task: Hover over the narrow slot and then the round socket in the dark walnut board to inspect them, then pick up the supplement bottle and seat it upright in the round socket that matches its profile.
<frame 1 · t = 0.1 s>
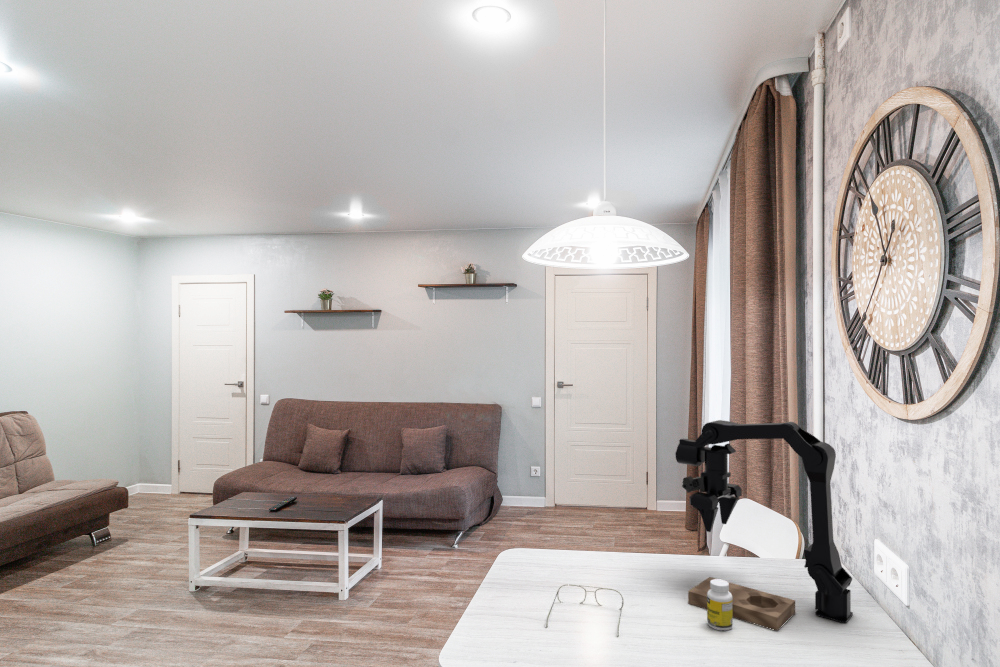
hand: (716, 527, 164), 15 cm above the table, tool pointing down, fingers open, 9 cm apart
socket board: (740, 608, 149), on the table
supplement bottle: (719, 626, 140), on the table
eyeglasses: (586, 620, 144), on the table
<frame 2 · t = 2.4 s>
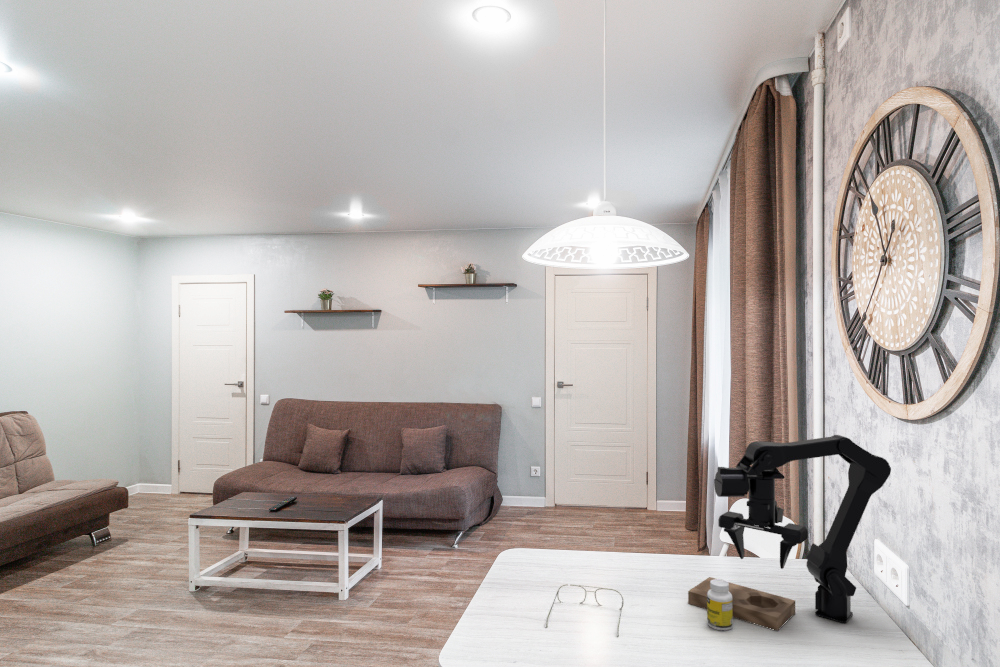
hand: (761, 563, 146), 12 cm above the table, tool pointing down, fingers open, 9 cm apart
nothing on the table moved.
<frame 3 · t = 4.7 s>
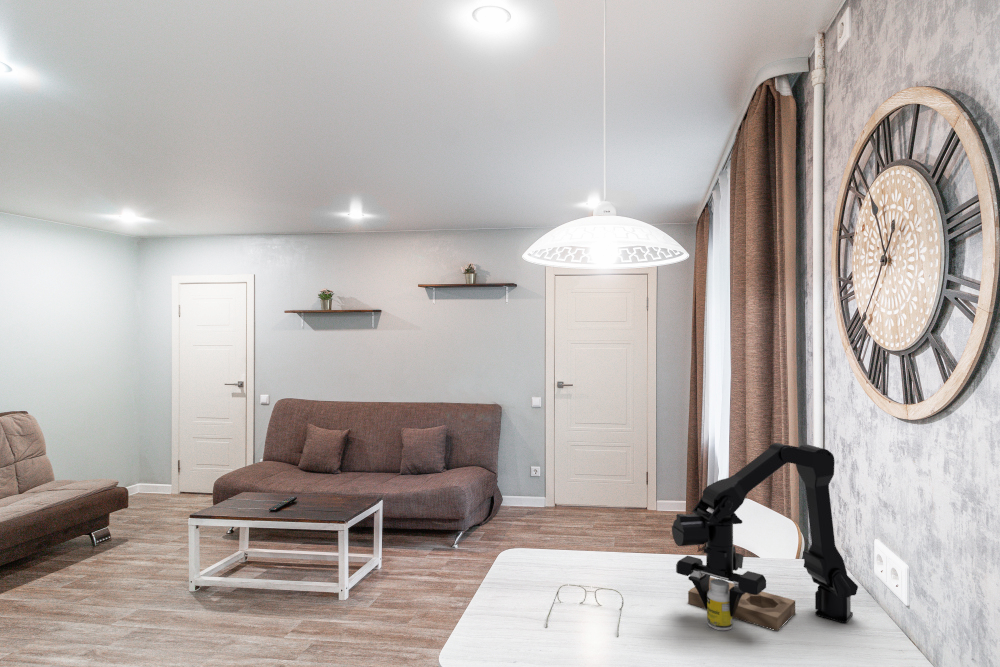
hand: (719, 612, 140), 3 cm above the table, tool pointing down, fingers closed on supplement bottle, 5 cm apart
supplement bottle: (719, 626, 140), on the table, touching gripper
everything else where it was.
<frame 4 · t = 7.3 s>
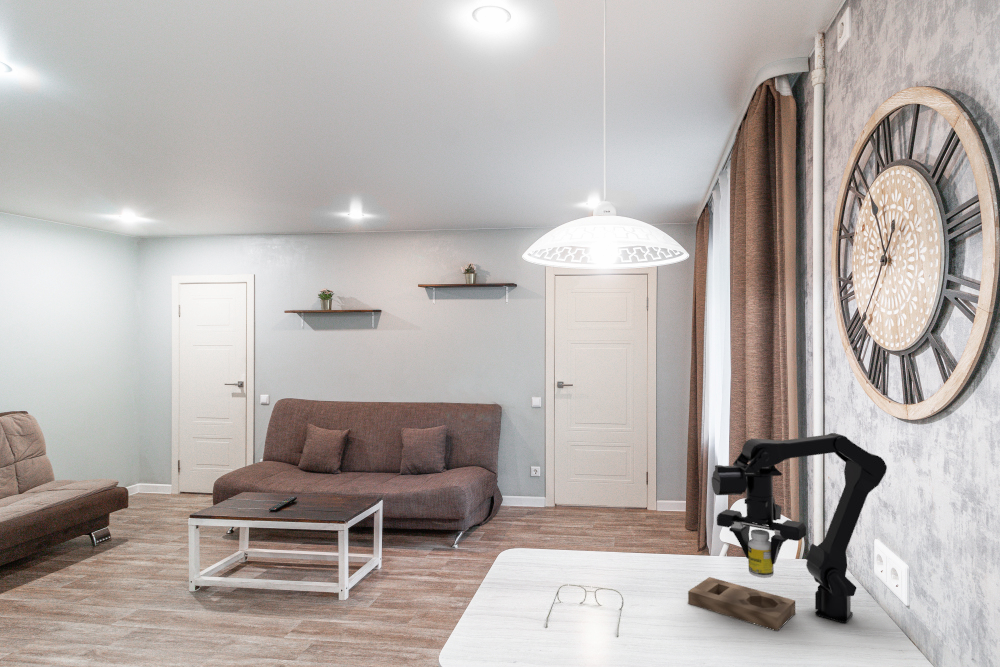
hand: (760, 560, 145), 13 cm above the table, tool pointing down, fingers closed on supplement bottle, 5 cm apart
supplement bottle: (761, 574, 145), point 9 cm above the table, touching gripper
everything else where it was.
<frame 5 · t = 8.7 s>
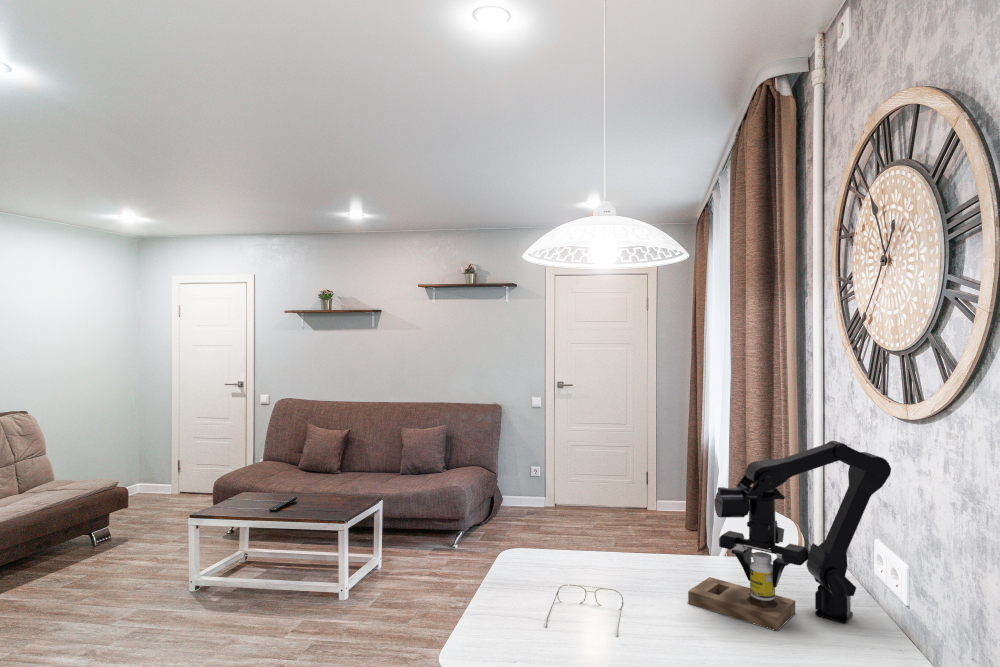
hand: (762, 583, 145), 7 cm above the table, tool pointing down, fingers closed on supplement bottle, 5 cm apart
supplement bottle: (762, 597, 145), point 4 cm above the table, touching gripper
everything else where it was.
when the fingers open (4 cm above the table, at t = 9.9 s): supplement bottle stays where it is, resting in socket board.
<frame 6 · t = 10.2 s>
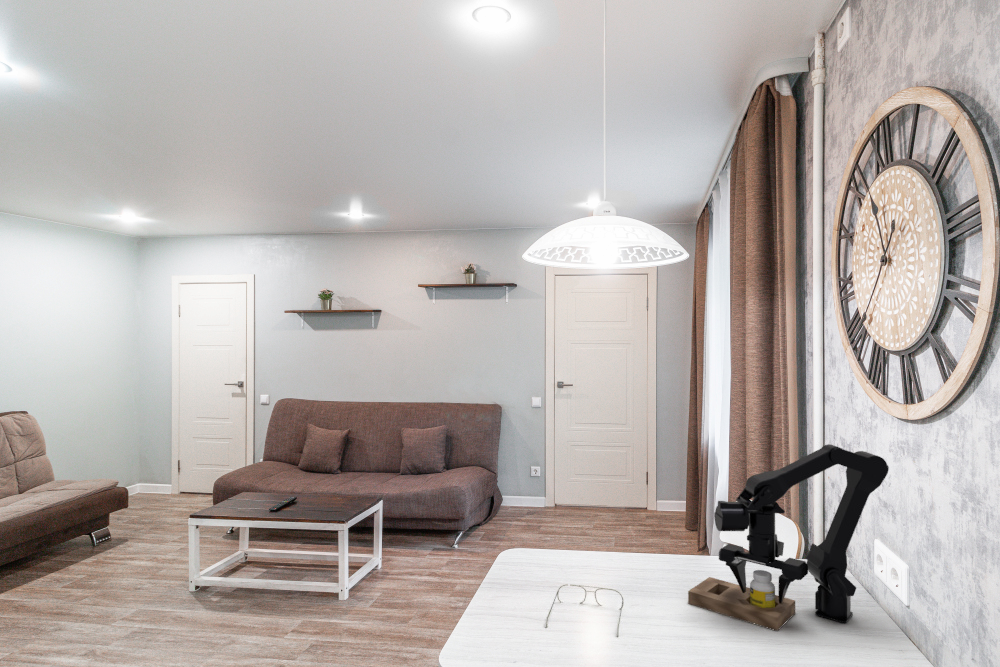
hand: (762, 597, 145), 4 cm above the table, tool pointing down, fingers open, 8 cm apart
supplement bottle: (762, 615, 145), resting in socket board
everything else where it was.
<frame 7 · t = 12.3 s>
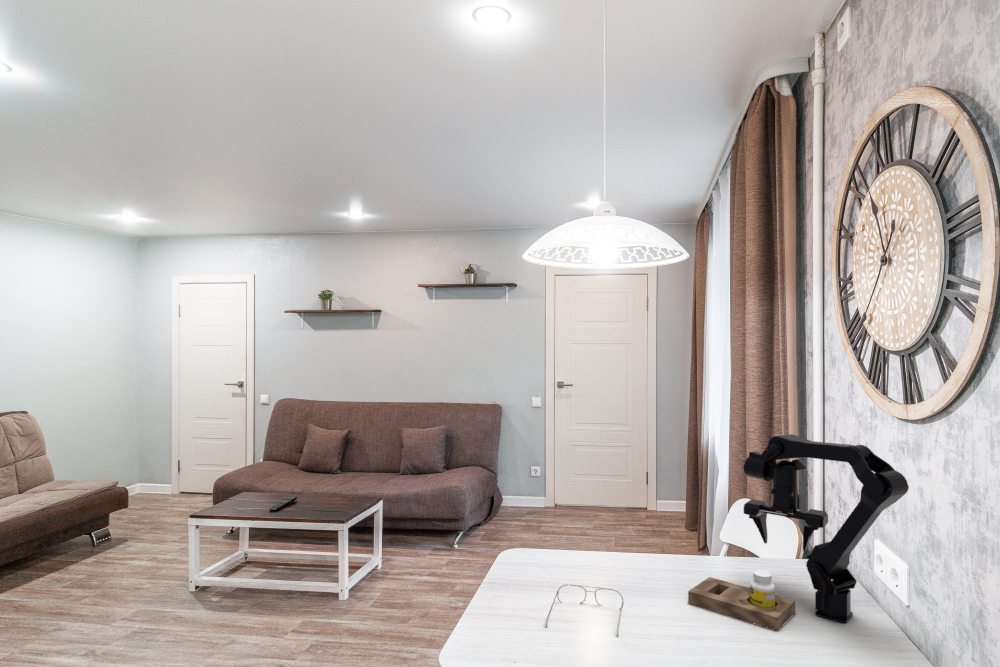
hand: (784, 546, 156), 12 cm above the table, tool pointing down, fingers open, 9 cm apart
nothing on the table moved.
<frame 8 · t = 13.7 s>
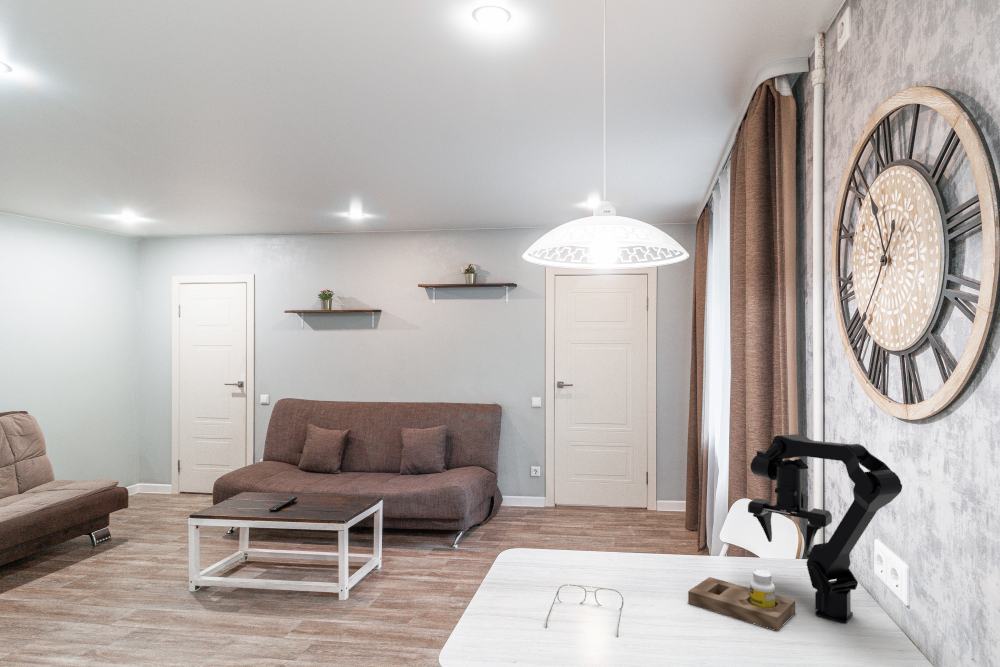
hand: (788, 545, 158), 12 cm above the table, tool pointing down, fingers open, 9 cm apart
nothing on the table moved.
at the end: supplement bottle 0.1 cm from the target spot on the socket board, point 0.0 cm above the socket board's base; supplement bottle tilted 0°; the gripper is holding nothing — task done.
